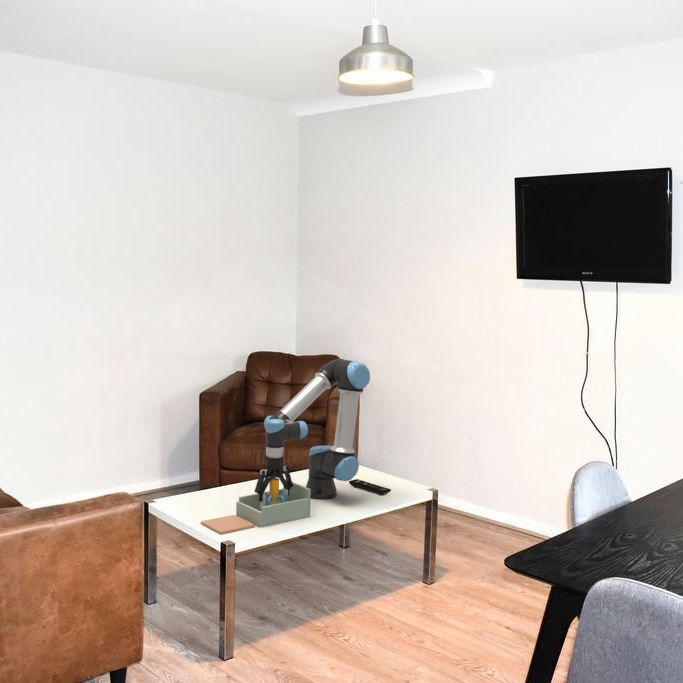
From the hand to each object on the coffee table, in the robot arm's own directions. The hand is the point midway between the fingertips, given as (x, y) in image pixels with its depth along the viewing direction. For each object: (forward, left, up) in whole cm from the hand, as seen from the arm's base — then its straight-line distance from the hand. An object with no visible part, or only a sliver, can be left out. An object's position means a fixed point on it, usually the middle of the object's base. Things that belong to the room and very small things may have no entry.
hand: (273, 506), depth 349 cm
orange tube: (0, 0, -3) cm, 3 cm away
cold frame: (0, 0, -4) cm, 4 cm away
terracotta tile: (+23, 0, -4) cm, 23 cm away
